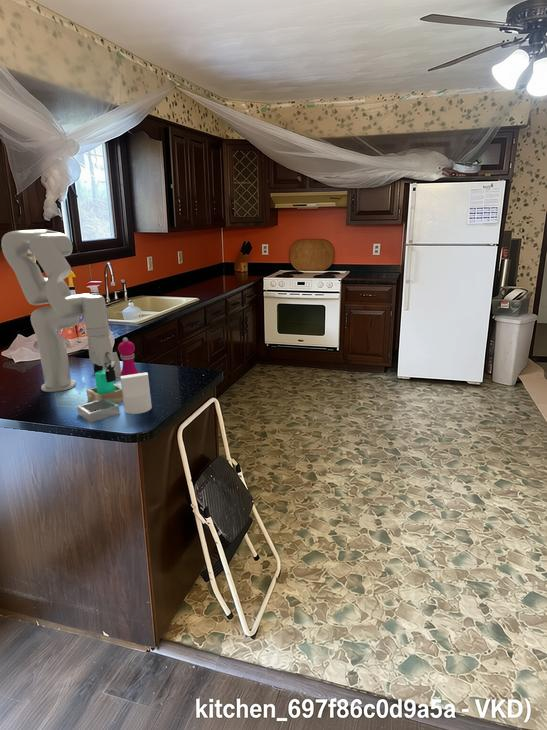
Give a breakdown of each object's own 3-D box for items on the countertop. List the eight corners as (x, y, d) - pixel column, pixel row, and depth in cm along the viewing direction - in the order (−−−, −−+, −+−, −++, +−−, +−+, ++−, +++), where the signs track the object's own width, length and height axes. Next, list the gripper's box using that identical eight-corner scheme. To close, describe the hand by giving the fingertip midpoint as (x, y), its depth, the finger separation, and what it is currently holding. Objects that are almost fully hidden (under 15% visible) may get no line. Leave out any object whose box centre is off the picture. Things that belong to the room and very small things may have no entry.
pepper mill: (135, 391, 186) (129, 340, 180) (118, 391, 187) (111, 339, 181) (144, 385, 192) (138, 335, 187) (127, 384, 194) (121, 335, 188)
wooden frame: (88, 400, 179) (86, 389, 178) (114, 392, 185) (112, 382, 184) (99, 407, 172) (98, 396, 171) (126, 399, 178) (125, 388, 177)
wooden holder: (78, 414, 166) (76, 406, 165) (106, 406, 172) (105, 398, 171) (90, 422, 159) (89, 413, 158) (119, 413, 165) (118, 405, 164)
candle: (106, 403, 175) (101, 371, 171) (95, 401, 178) (90, 369, 174) (119, 398, 179) (115, 366, 176) (108, 395, 182) (104, 364, 179)
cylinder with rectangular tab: (126, 415, 164) (122, 381, 160) (122, 406, 171) (118, 373, 168) (154, 410, 167) (150, 377, 163) (149, 402, 175) (145, 369, 171)
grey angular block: (121, 376, 205) (118, 352, 202) (106, 380, 200) (103, 356, 197) (116, 374, 207) (113, 351, 205) (102, 378, 203) (98, 354, 200)
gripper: (77, 330, 175) (85, 376, 180) (98, 337, 162) (105, 386, 167) (98, 326, 180) (105, 371, 184) (119, 332, 167) (126, 381, 172)
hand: (105, 378), depth 176 cm, fingers open, 9 cm apart
